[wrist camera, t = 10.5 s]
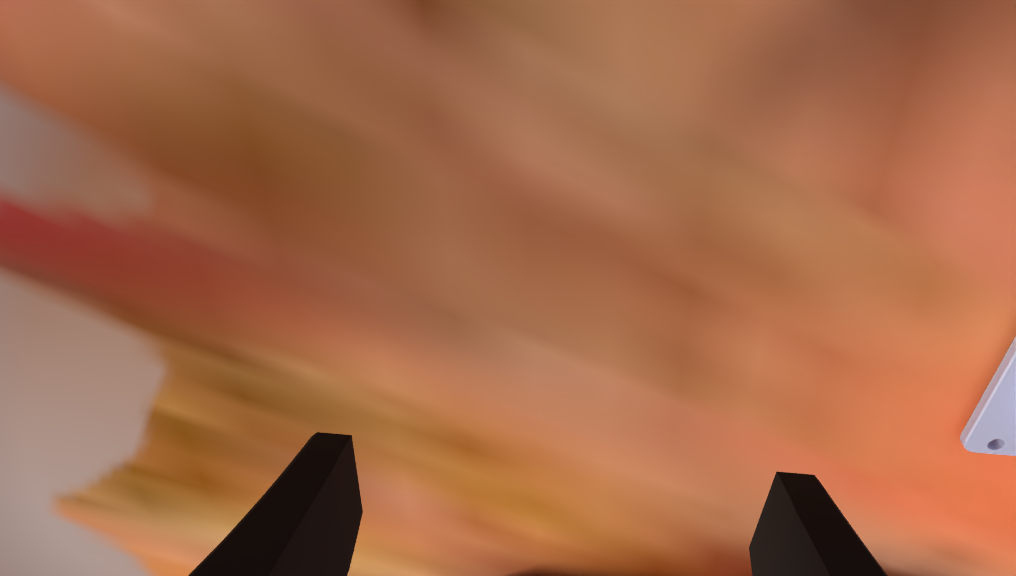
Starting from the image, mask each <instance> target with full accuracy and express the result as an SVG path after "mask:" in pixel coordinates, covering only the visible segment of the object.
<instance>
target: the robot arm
mask: <svg viewBox="0 0 1016 576" xmlns="http://www.w3.org/2000/svg"><path fill="white" fill-rule="evenodd" d="M994 439H995V440H994ZM960 440H961V442H962V444H963V446H964V447H965V449H967V450H968V451H971V452H976V453H988V454H1000V455H1012V456H1016V337H1015V338H1014V340H1013V342H1012V344H1011V346H1010V347H1009V349H1008V351H1007V353H1006V354H1005V356H1004V358H1003V360H1002V362H1001V363H1000V365H999V367H998V369H997V371H996V372H995V374H994V376H993V378H992V380H991V381H990V383H989V385H988V387H987V388H986V390H985V392H984V394H983V396H982V397H981V399H980V401H979V403H978V405H977V406H976V408H975V410H974V412H973V414H972V415H971V417H970V419H969V421H968V422H967V424H966V426H965V428H964V430H963V431H962V433H961V436H960ZM992 440H993V441H992ZM362 512H363V511H362V504H361V497H360V490H359V483H358V476H357V469H356V462H355V456H354V449H353V442H352V435H342V434H331V433H319V432H317V433H316V434H314V435H313V436H312V437H311V438H310V439H309V440H308V442H307V443H306V444H305V445H304V447H303V448H302V449H301V451H300V452H299V453H298V454H297V455H296V457H295V458H294V459H293V460H292V462H291V463H290V464H289V465H288V467H287V468H286V469H285V470H284V471H283V473H282V474H281V475H280V476H279V477H278V479H277V480H276V481H275V482H274V483H273V485H272V486H271V487H270V488H269V489H268V490H267V492H266V493H265V494H264V495H263V496H262V497H261V499H260V500H259V501H258V502H257V503H256V504H255V505H254V506H253V508H252V509H251V510H250V511H249V512H248V513H247V514H246V515H245V517H244V518H243V519H242V520H241V521H240V522H239V523H238V524H237V525H236V527H235V528H234V529H233V530H232V531H231V532H230V533H229V534H228V535H227V536H226V538H225V539H224V540H223V541H222V542H221V543H220V544H219V545H218V546H217V547H216V548H215V549H214V550H213V551H212V552H211V553H210V554H209V555H208V556H207V557H206V558H205V559H204V560H203V561H202V562H201V563H200V564H199V565H198V566H197V567H196V568H195V569H194V570H193V571H192V572H191V573H190V575H189V576H347V574H348V571H349V568H350V563H351V559H352V555H353V551H354V547H355V543H356V539H357V534H358V530H359V526H360V521H361V517H362ZM749 550H750V558H751V567H752V575H753V576H887V574H886V573H885V572H884V570H883V569H882V568H881V566H880V565H879V564H878V562H877V561H876V560H875V558H874V557H873V556H872V554H871V553H870V552H869V550H868V549H867V548H866V546H865V545H864V543H863V542H862V541H861V539H860V538H859V536H858V535H857V534H856V532H855V531H854V530H853V528H852V527H851V525H850V524H849V523H848V521H847V520H846V518H845V517H844V516H843V514H842V513H841V511H840V510H839V508H838V507H837V506H836V504H835V503H834V501H833V500H832V498H831V497H830V496H829V494H828V493H827V491H826V490H825V489H824V487H823V486H822V484H821V483H820V481H819V480H818V479H817V478H816V477H815V475H809V474H797V473H785V472H776V475H775V478H774V480H773V483H772V486H771V489H770V491H769V494H768V497H767V500H766V502H765V505H764V508H763V511H762V513H761V516H760V519H759V522H758V524H757V527H756V530H755V533H754V536H753V538H752V541H751V544H750V547H749Z"/></svg>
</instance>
